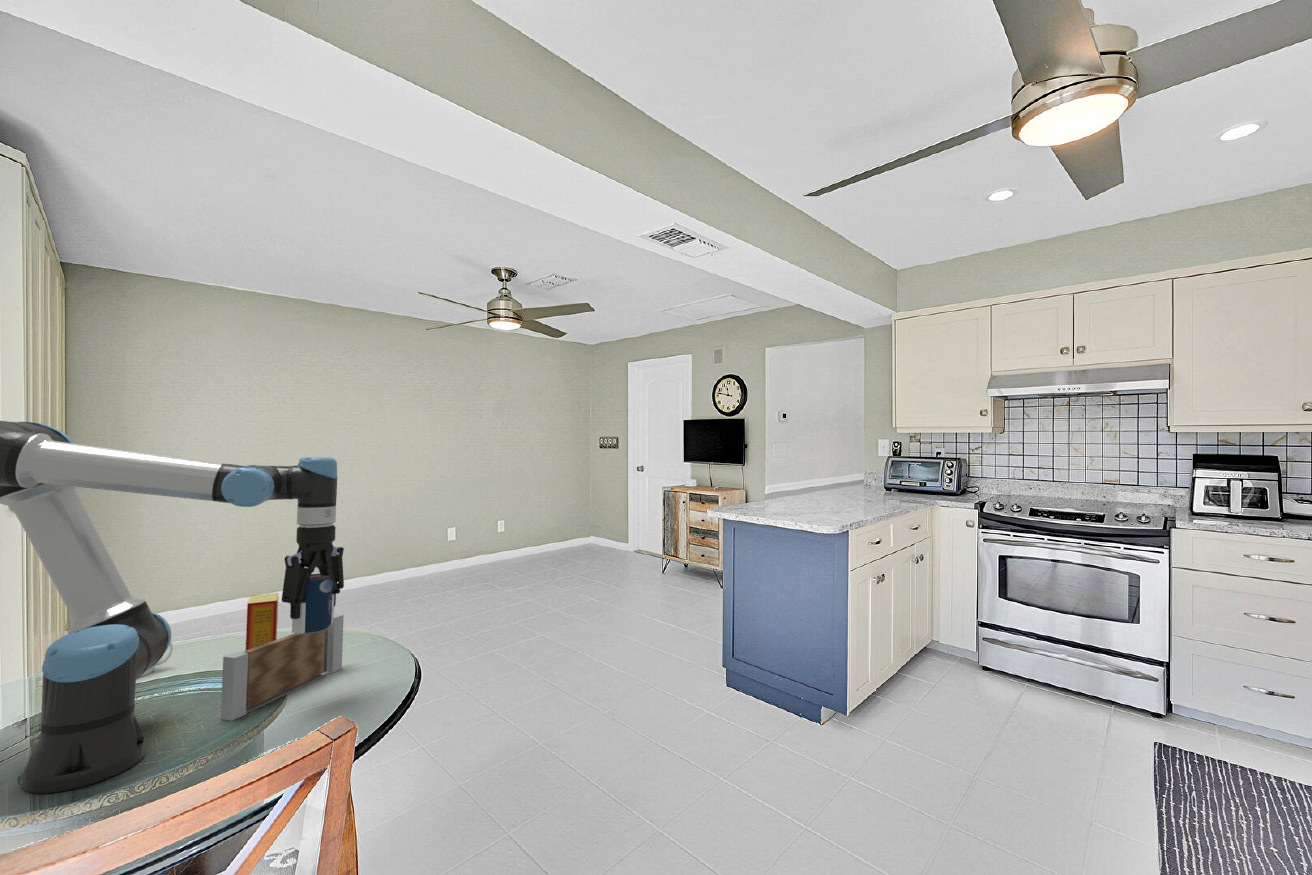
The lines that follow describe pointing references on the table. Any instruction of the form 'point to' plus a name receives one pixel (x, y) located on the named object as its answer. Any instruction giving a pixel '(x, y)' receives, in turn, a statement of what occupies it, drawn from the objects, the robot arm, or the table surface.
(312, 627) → the soda can
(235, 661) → the gray u-shaped frame
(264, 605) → the baking soda box
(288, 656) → the door
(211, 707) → the table surface
